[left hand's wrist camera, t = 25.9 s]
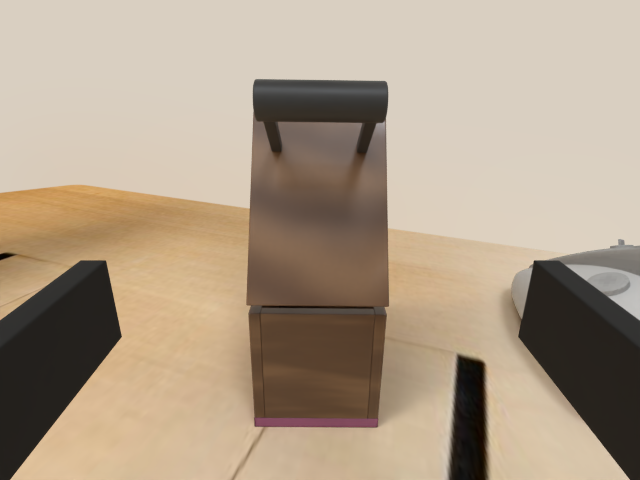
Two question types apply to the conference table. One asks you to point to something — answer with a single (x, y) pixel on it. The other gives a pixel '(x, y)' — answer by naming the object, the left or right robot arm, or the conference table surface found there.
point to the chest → (316, 365)
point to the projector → (597, 275)
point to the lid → (318, 194)
